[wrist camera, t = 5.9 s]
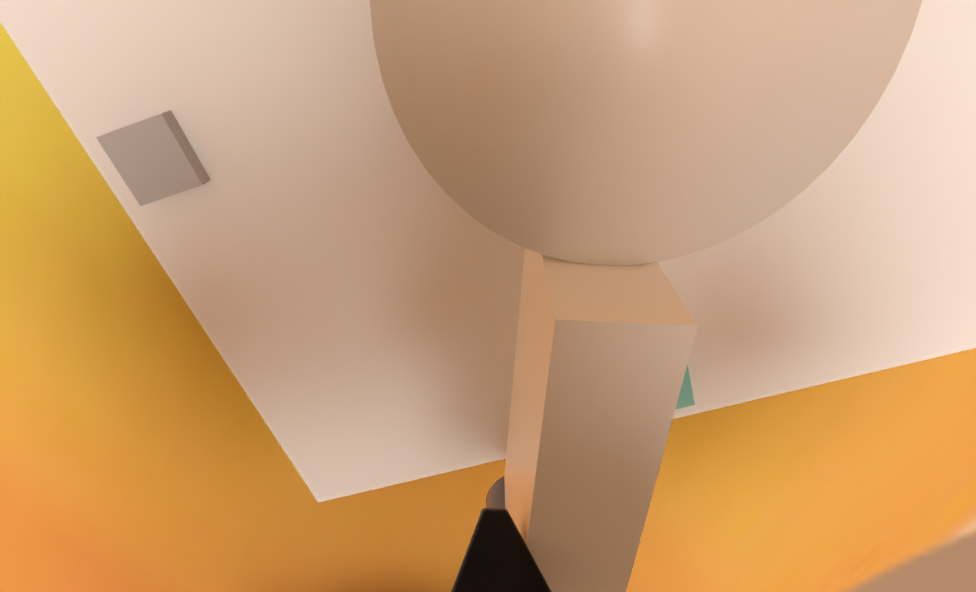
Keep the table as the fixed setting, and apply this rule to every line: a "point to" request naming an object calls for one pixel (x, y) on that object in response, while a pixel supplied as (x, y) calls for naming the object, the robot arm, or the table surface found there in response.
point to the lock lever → (619, 204)
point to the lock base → (471, 230)
